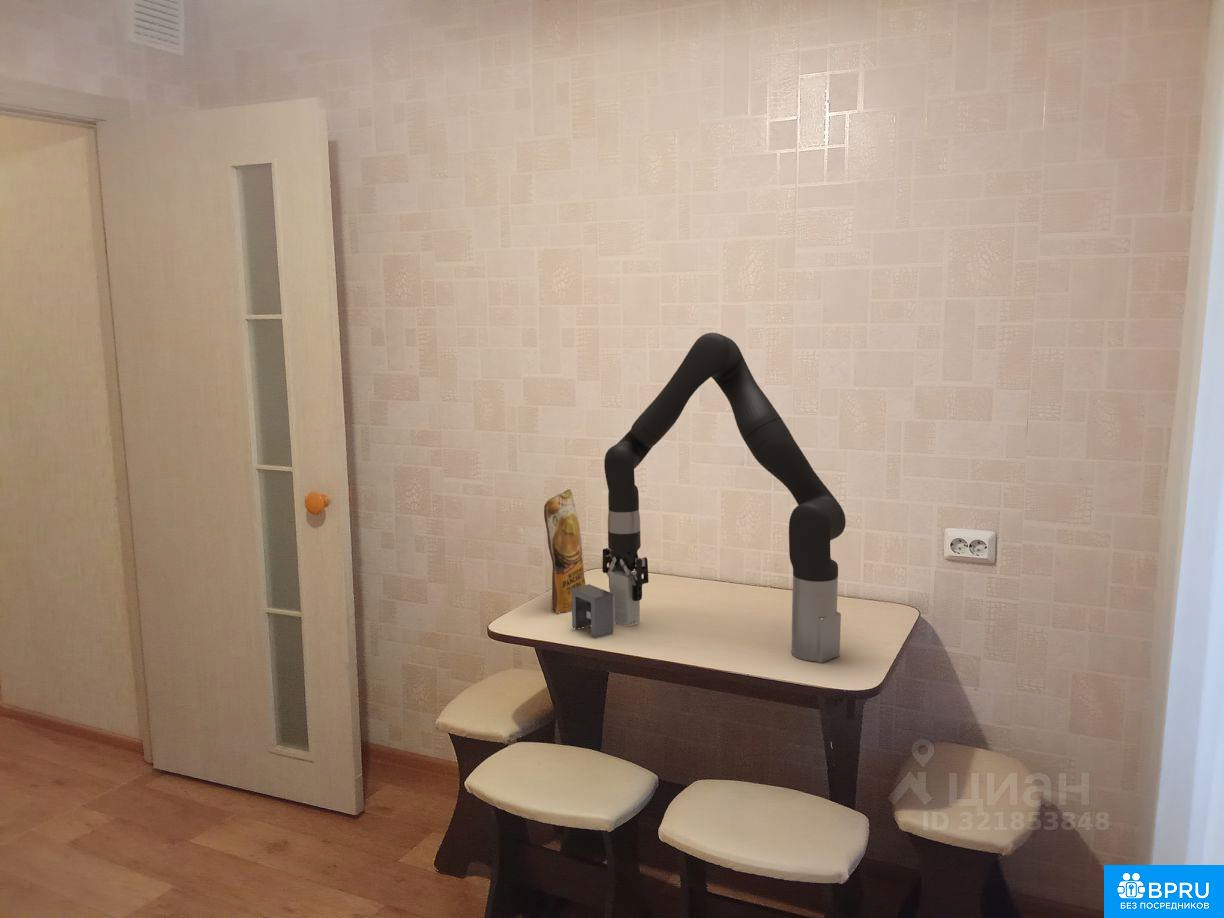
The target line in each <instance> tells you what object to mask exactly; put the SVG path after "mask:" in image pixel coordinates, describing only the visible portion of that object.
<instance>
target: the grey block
mask: <svg viewBox="0 0 1224 918" xmlns="http://www.w3.org/2000/svg"><path fill="white" fill-rule="evenodd" d="M586 615H587V618H589V619H591V610H588V611H586ZM614 627H616V623H615V597H614V596H613V628H614Z"/></svg>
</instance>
